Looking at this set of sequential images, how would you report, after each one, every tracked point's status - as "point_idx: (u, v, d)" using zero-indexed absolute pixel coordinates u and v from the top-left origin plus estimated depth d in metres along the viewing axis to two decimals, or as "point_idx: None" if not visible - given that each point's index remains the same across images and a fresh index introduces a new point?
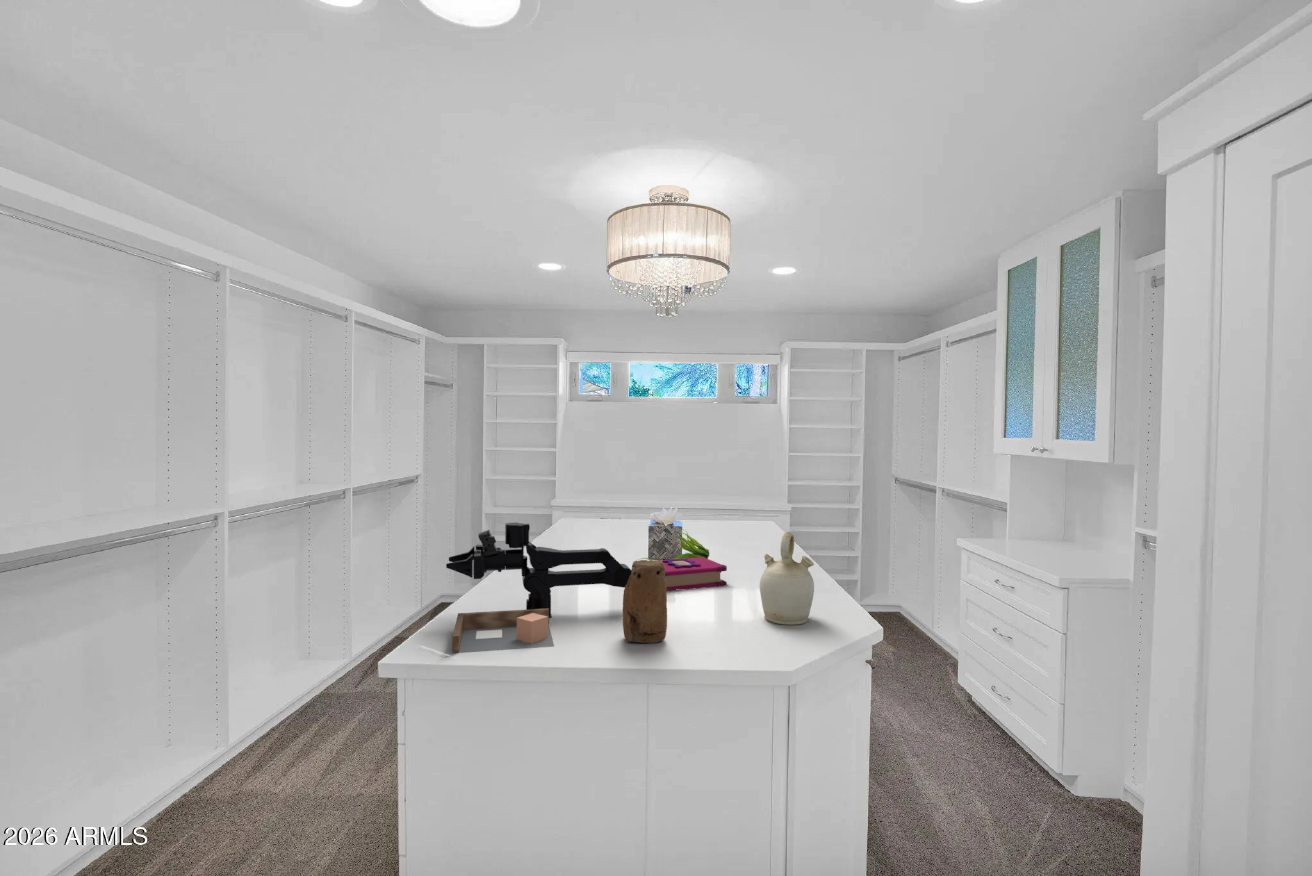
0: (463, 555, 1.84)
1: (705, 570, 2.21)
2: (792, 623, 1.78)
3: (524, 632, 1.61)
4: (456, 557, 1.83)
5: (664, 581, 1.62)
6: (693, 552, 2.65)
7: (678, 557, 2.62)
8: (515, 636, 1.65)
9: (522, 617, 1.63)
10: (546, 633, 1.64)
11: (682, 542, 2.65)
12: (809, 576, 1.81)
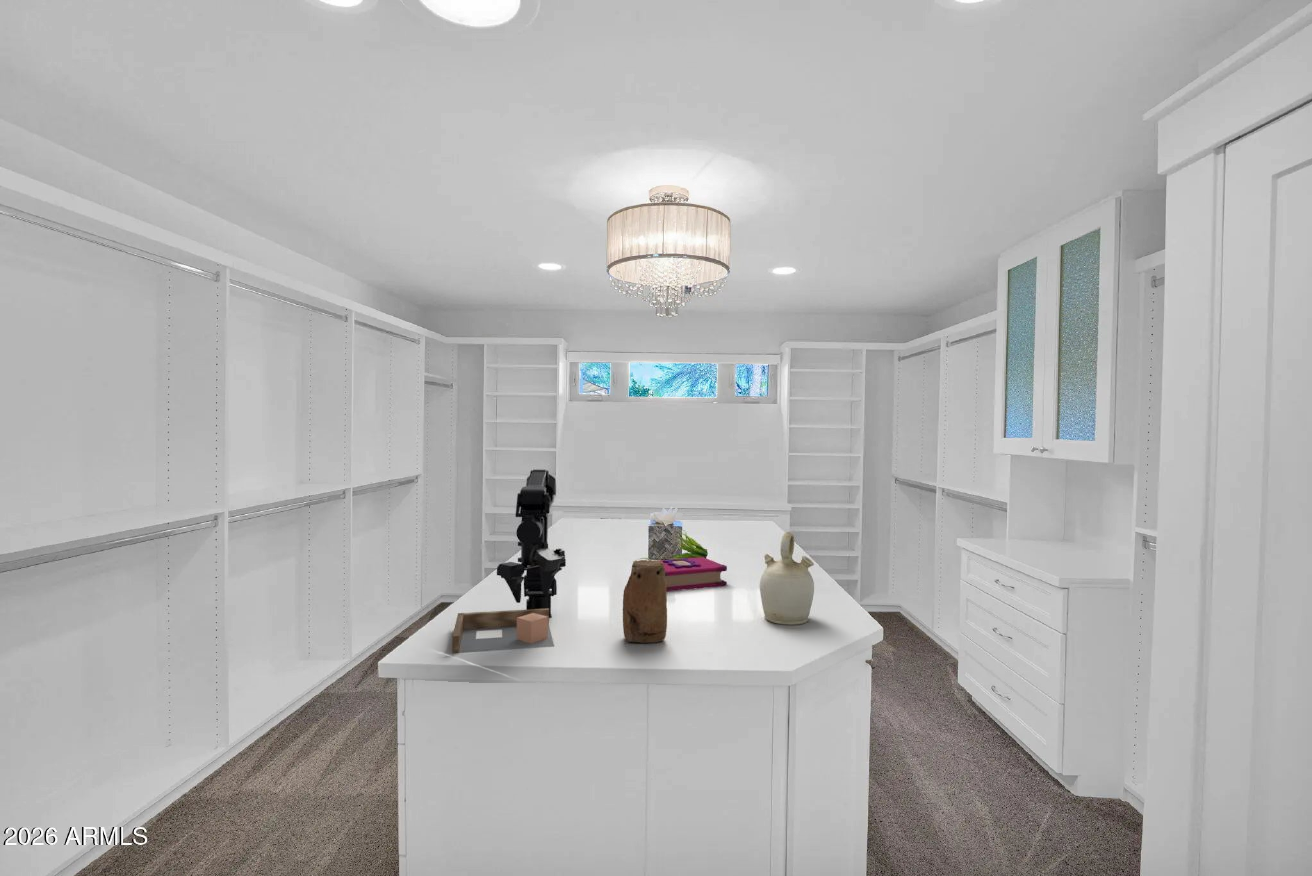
0: None
1: (705, 570, 2.21)
2: (792, 623, 1.78)
3: (524, 632, 1.61)
4: None
5: (664, 581, 1.62)
6: (691, 552, 2.65)
7: (677, 557, 2.62)
8: (515, 636, 1.65)
9: (522, 617, 1.63)
10: (546, 633, 1.64)
11: None
12: (809, 576, 1.81)
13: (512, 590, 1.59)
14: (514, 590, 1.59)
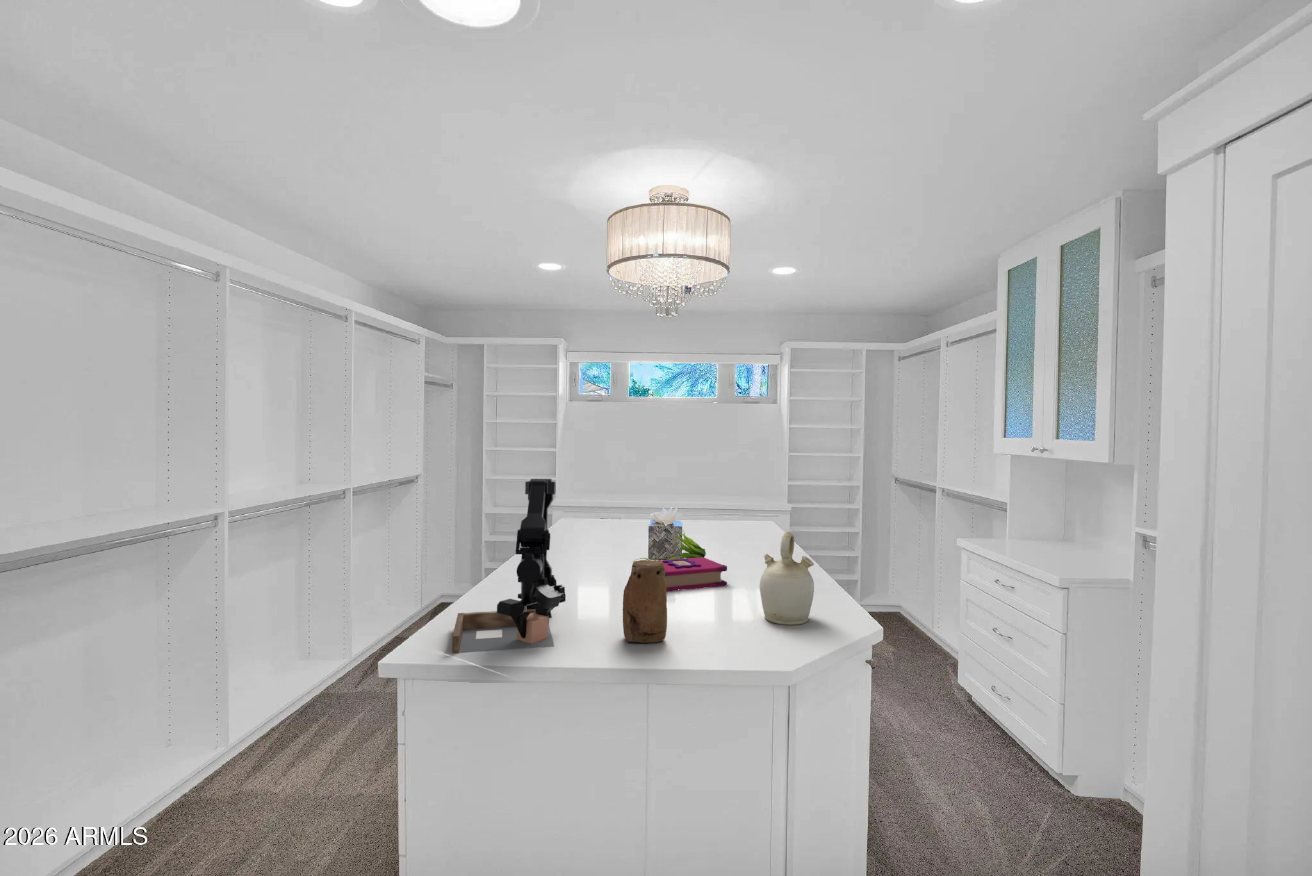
0: None
1: (706, 570, 2.21)
2: (792, 623, 1.78)
3: None
4: None
5: (664, 581, 1.62)
6: (690, 551, 2.66)
7: (675, 557, 2.63)
8: (515, 636, 1.65)
9: None
10: (546, 633, 1.64)
11: None
12: (809, 576, 1.81)
13: (517, 625, 1.61)
14: (519, 626, 1.60)
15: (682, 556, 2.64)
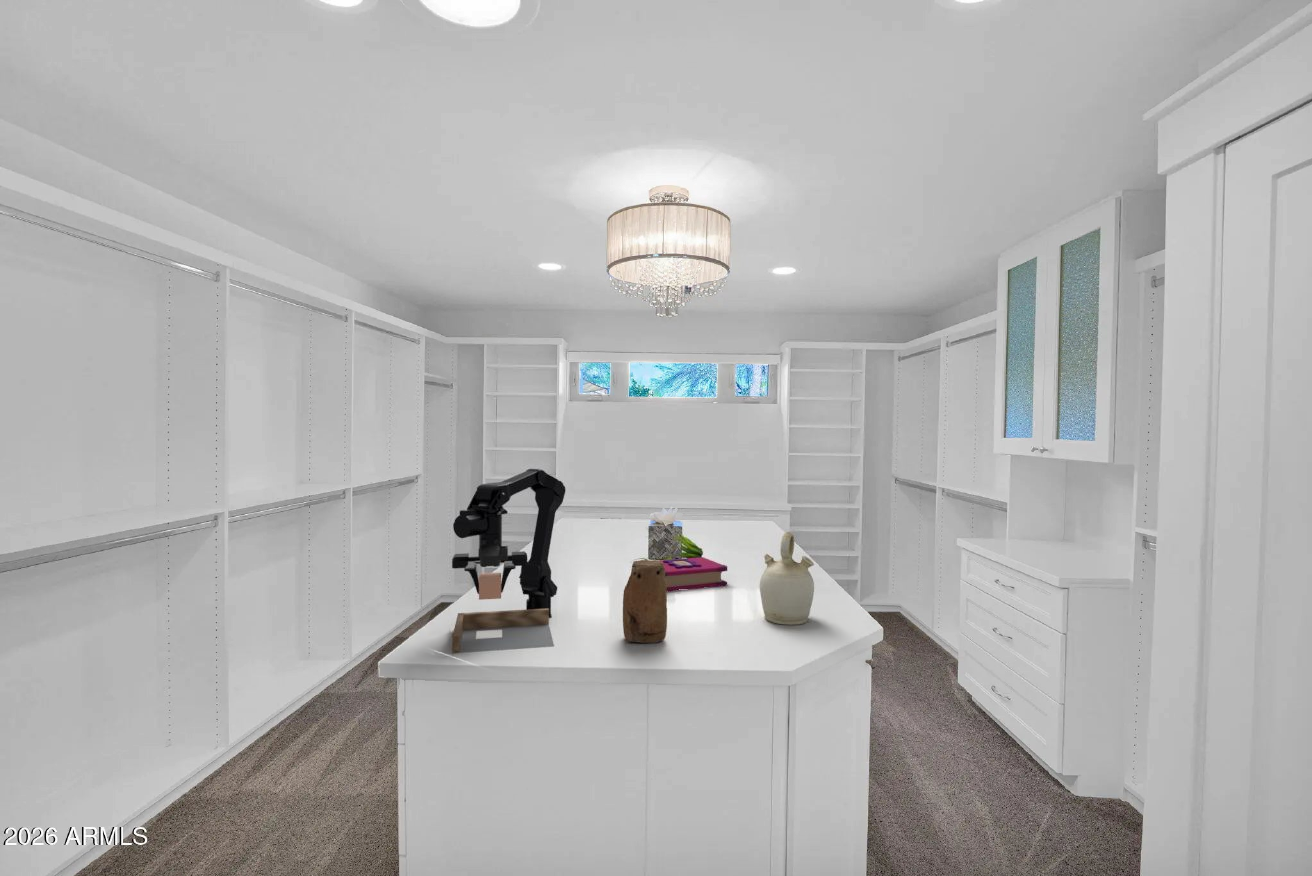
0: (477, 578, 1.65)
1: (706, 570, 2.21)
2: (792, 623, 1.78)
3: None
4: None
5: (664, 581, 1.62)
6: (687, 551, 2.67)
7: None
8: (515, 636, 1.65)
9: (483, 574, 1.68)
10: (499, 593, 1.64)
11: None
12: (809, 576, 1.81)
13: None
14: None
15: None
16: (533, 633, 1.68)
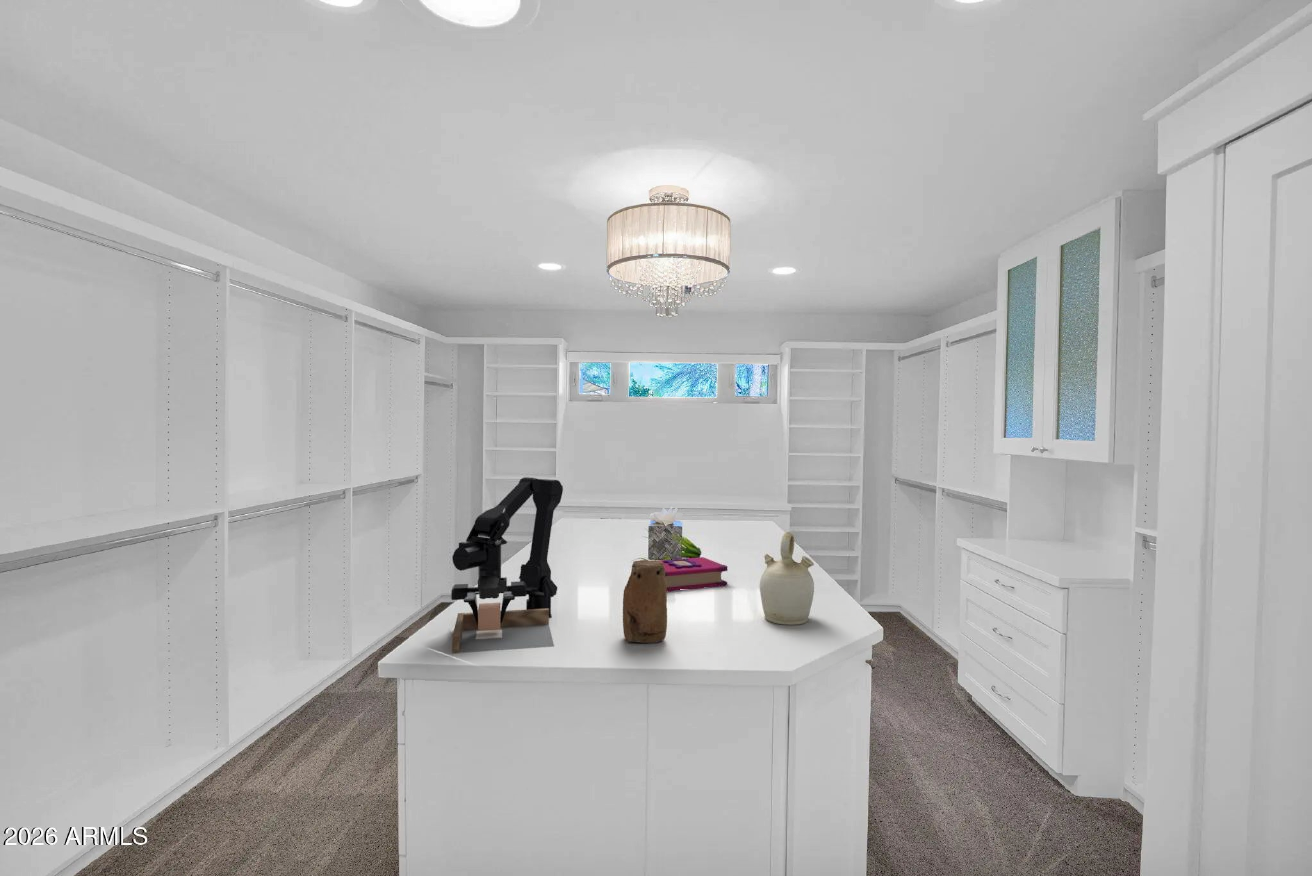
0: (477, 609, 1.65)
1: (706, 570, 2.21)
2: (792, 623, 1.78)
3: None
4: None
5: (664, 581, 1.62)
6: (686, 551, 2.67)
7: None
8: (515, 636, 1.65)
9: (482, 604, 1.68)
10: (498, 624, 1.65)
11: None
12: (809, 576, 1.81)
13: None
14: None
15: None
16: (533, 633, 1.68)
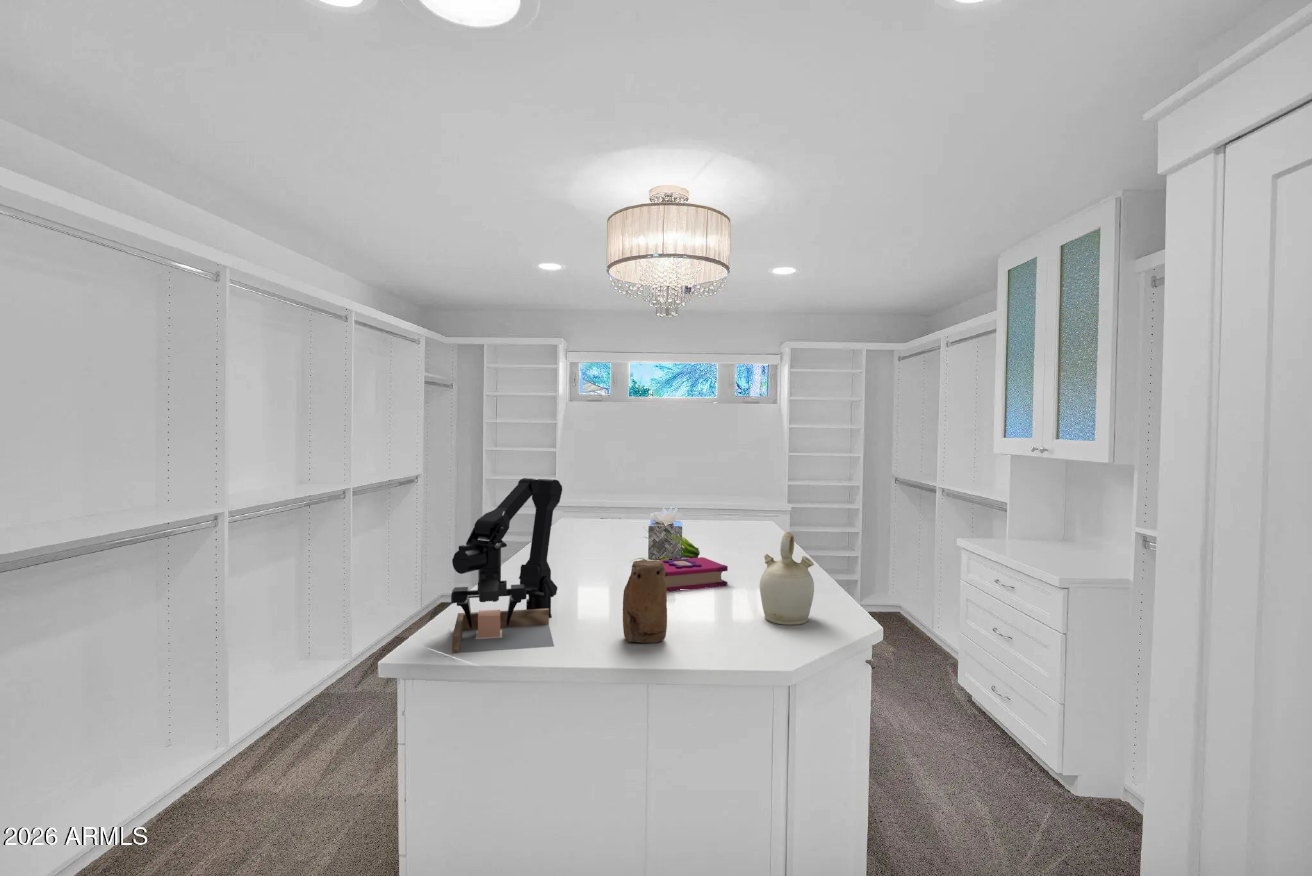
0: (470, 612, 1.65)
1: (706, 570, 2.21)
2: (792, 623, 1.78)
3: None
4: (471, 619, 1.65)
5: (664, 581, 1.62)
6: (684, 551, 2.68)
7: None
8: (515, 636, 1.65)
9: (482, 611, 1.68)
10: (498, 631, 1.64)
11: None
12: (809, 576, 1.81)
13: None
14: None
15: None
16: (533, 633, 1.68)
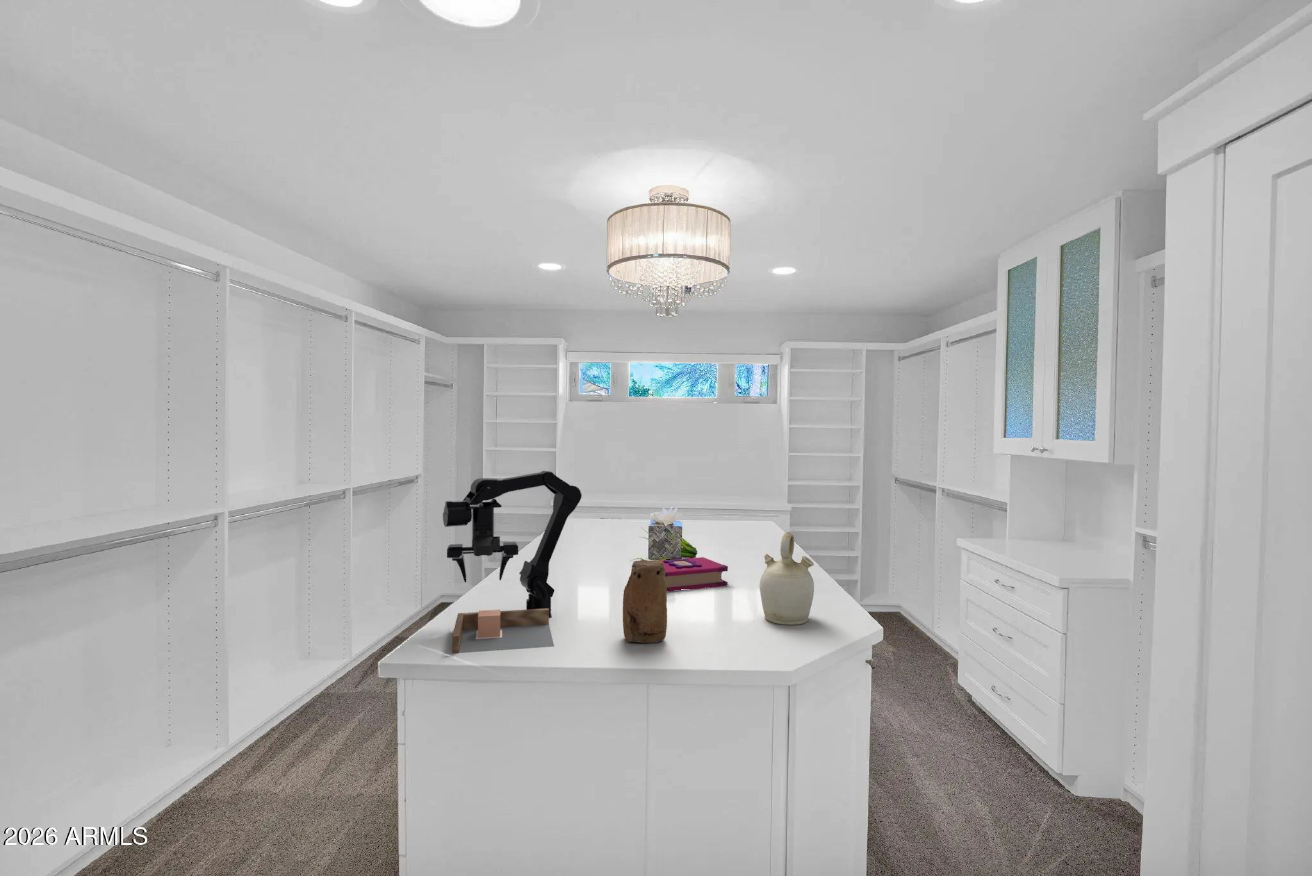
0: (464, 567, 1.74)
1: (706, 570, 2.21)
2: (792, 623, 1.78)
3: None
4: None
5: (664, 581, 1.62)
6: (682, 550, 2.68)
7: None
8: (515, 636, 1.65)
9: (482, 611, 1.68)
10: (498, 631, 1.64)
11: None
12: (809, 576, 1.81)
13: None
14: None
15: None
16: (533, 633, 1.68)
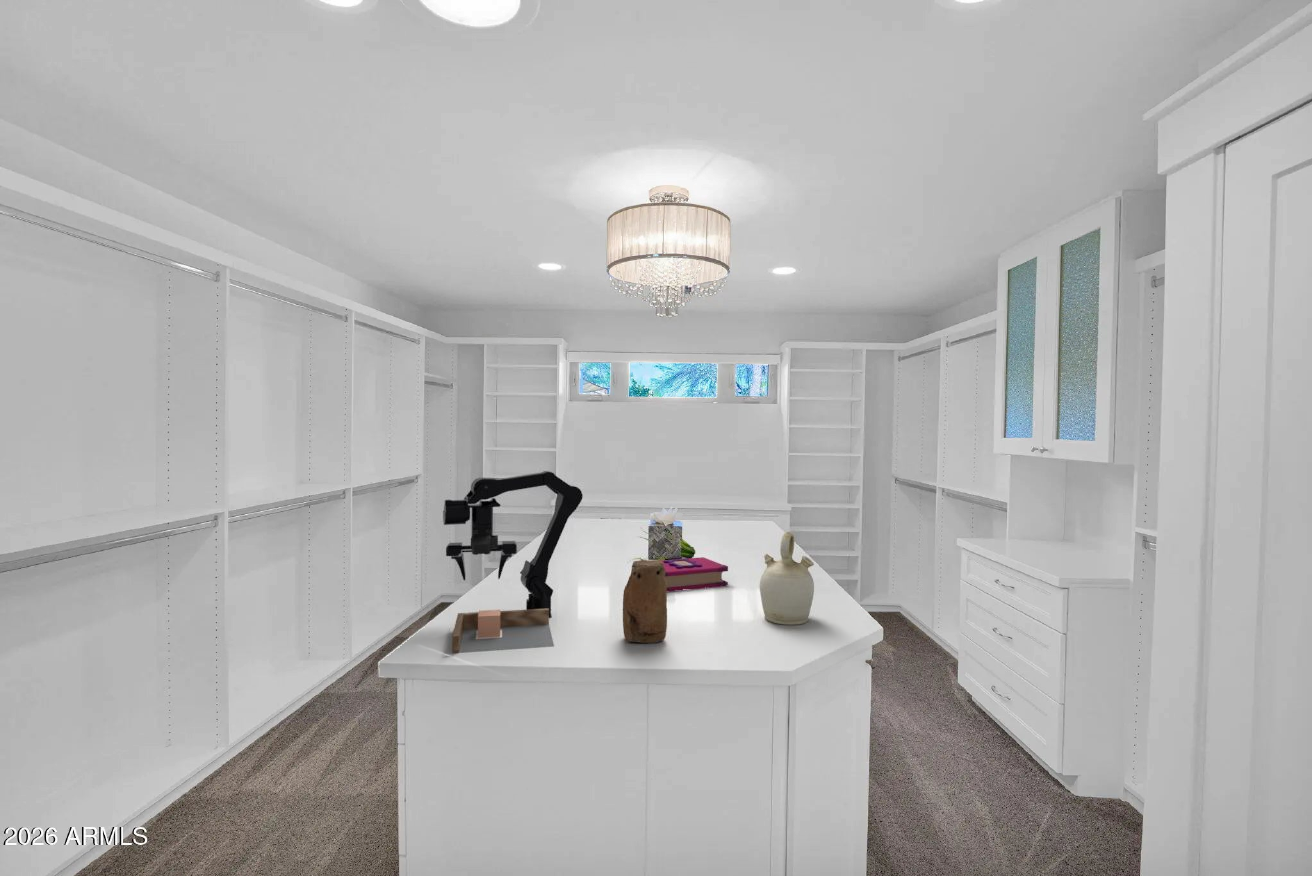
0: (463, 565, 1.76)
1: (707, 570, 2.21)
2: (792, 623, 1.78)
3: None
4: None
5: (664, 581, 1.62)
6: None
7: None
8: (515, 636, 1.65)
9: (482, 611, 1.68)
10: (498, 631, 1.64)
11: None
12: (809, 576, 1.81)
13: None
14: None
15: None
16: (533, 633, 1.68)
